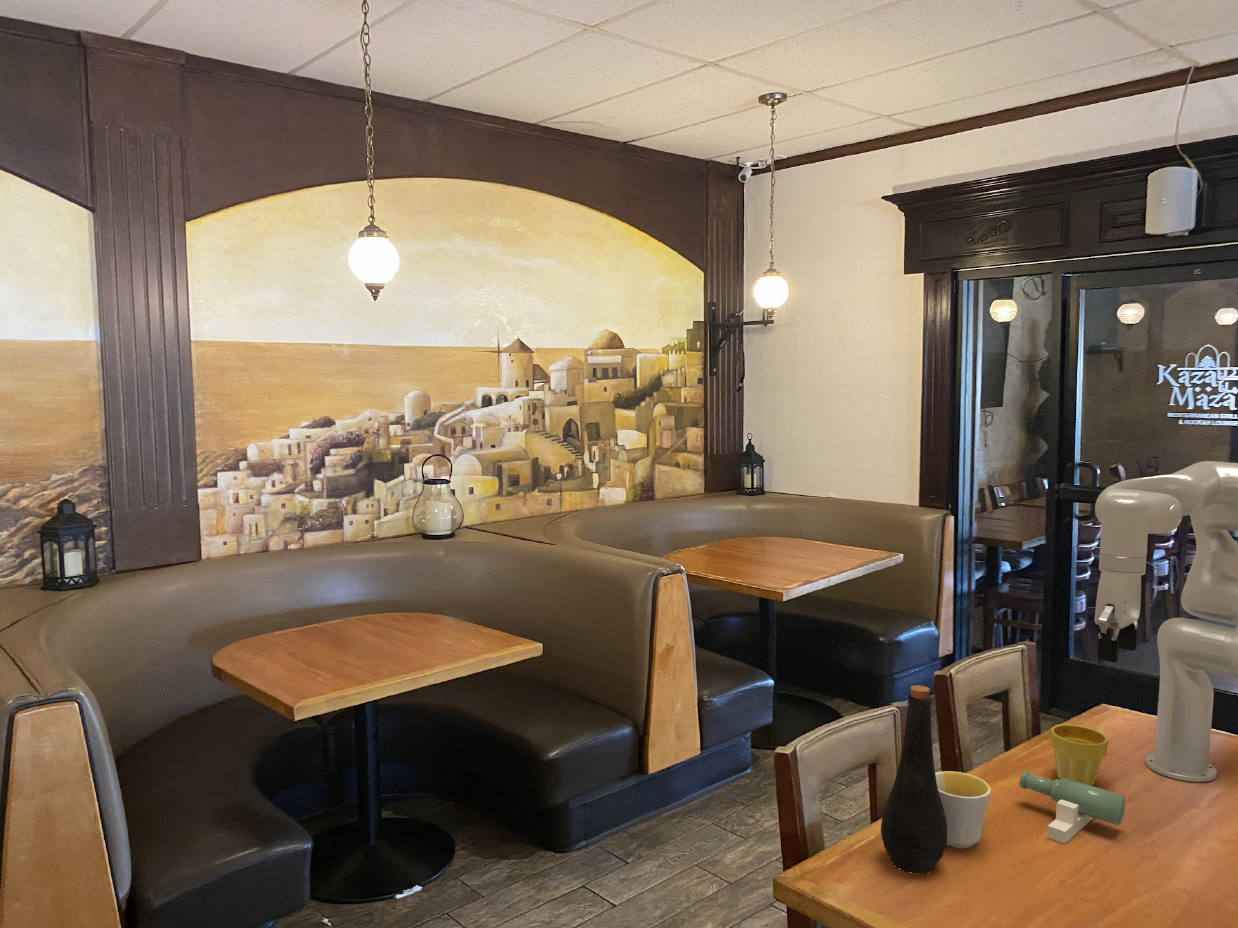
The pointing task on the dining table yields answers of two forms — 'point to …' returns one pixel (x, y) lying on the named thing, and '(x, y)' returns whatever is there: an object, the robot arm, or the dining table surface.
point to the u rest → (1066, 822)
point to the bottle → (915, 796)
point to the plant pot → (1078, 752)
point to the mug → (963, 806)
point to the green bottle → (1079, 796)
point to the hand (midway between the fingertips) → (1117, 654)
